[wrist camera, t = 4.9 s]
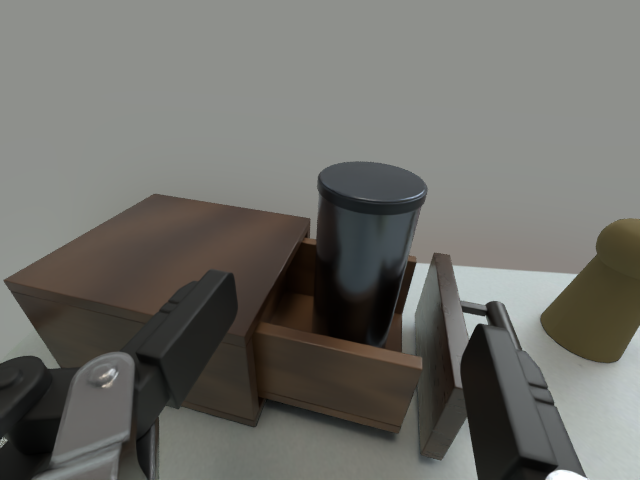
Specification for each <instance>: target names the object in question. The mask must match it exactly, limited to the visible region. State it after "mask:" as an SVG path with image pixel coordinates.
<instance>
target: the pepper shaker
mask: <svg viewBox="0 0 640 480" xmlns="http://www.w3.org/2000/svg"><path fill="white" fill-rule="evenodd" d="M596 251H597V255H596V256H595V257H594V258H593V259H592V260H591V261H590V262H589V263H588V265H587V266H586V267H585V268H584V269H583V270H582V271H581V272H580V274H578V275H577V276H576V278H575V279H574V280H573V281H572V282H571V283H570V284H569V285H568V286H567V287H566V288H565V289H564V291H563V292H562V293H561V294H560V295H559V296H558V297H557V298H556V299H555V300H554V301H553V302H552V304H551V305H550V306H549V307H548V308H547V309H546V310H545V311H544V312H543V313H542V316H541V323H542V326H543V328H544V329H545V331H546V332H547V333H548V335H549V336H550V337H551V338H553V339H554V340H555V341H556V342H557V343H558V344H560V345H561V346H563V347H564V348H566V349H567V350H569V351H570V352H572V353H574V354H577V355H579V356H581V357H583V358H586V359H589V360H593V361H596V362H605V363H610V362H614V361H618V360H619V358H620V357H621V356H622V354H623V353H624V351H625V349H626V348H627V346H628V344H629V342H630V341H631V339H632V337H633V336H634V334H635V332H636V331H637V329H638V327H639V325H640V219H620V220H617V221H615V222H613V223H611V224H610V225H608V226H607V227H606V228H604V229H603V230H602V231H601V233H600V235H599V236H598V239H597V243H596Z"/></svg>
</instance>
